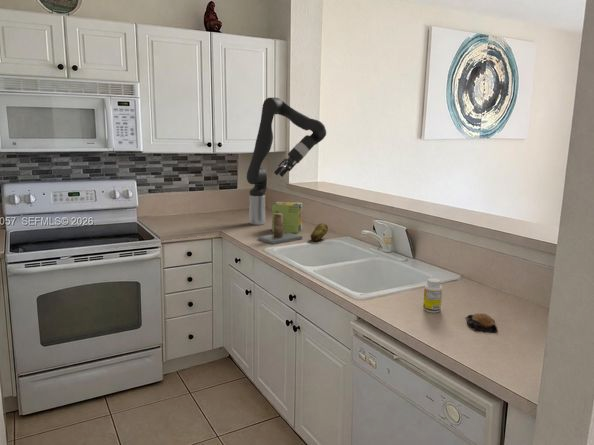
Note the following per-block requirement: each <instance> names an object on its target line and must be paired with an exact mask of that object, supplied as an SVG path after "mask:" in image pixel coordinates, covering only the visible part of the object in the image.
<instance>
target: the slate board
mask: <svg viewBox="0 0 594 445" xmlns="http://www.w3.org/2000/svg"><path fill="white" fill-rule="evenodd" d="M257 240H259V241H262V242H264V243H268V244H271V245H277V244H282V243H288V242H294V241H298V240H300V241H301V240H303V236H302V235H300V234H297V233H289V232H283V237H281V238H275V237H274V233H273V234H267V235H261V236H258V237H257Z"/></svg>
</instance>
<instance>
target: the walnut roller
mask: <svg viewBox="0 0 594 445" xmlns="http://www.w3.org/2000/svg"><path fill="white" fill-rule="evenodd" d="M273 234H274V237H275V238H281V237H283V214H282V213H275V214H274V232H273Z"/></svg>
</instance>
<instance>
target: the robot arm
mask: <svg viewBox="0 0 594 445" xmlns="http://www.w3.org/2000/svg"><path fill="white" fill-rule="evenodd" d="M275 115H279V116H282V117H284V118H287V119H288V120H289V121H290V122H291V123H292V124H293V125H294V126H296V127H298V128H300V129H302V130H304V131H310V132H312V133H311V134H310V135H309V134H306V135H305V136H303V138H301V140H299V142H298V143H296V144H295V145H294V146H293V147H292V148H291V149H290V151H289V152H288V153H287V156H288V158H286V157H285V158H284V159H283V160H282V161H281V162H280V163H279V164H278V165H277V166H278V167H277V169H276V170H275V171H274V174H275V175H276V176H278V175H279V176H280V177H284V176H285V175H286V174H287V173H288V172H291V171H292V170H293V168H294V167H295V166H296V165H297V164H299V163H300V162H301V161H302V160H303V159H304V158H305V157H306V155H307V154H309V152H310V151H311V150H312V149H313V147H314V146H315V145H317V144H318V143H320V142H322V141H323V140H324V139H325V137H326V136H327V130H326V126H325V124H324V123H323V122H322V121H320V120H318V119H314V118H311V117H309V116H307V115H305V114H303V113H301V112H299V111H298V110H296V109H294V108H293V107H291V106H290V105H288V104H287V103H286V102H285V101H283V100H282V99H281V98H279V97H267V98H266V99H265V100H264V101H263V103H262V108H261V117H260V123H259V127H258V132H257V136H256V139H255V144H254V149H253V151H252V152H253V153H252V156H251V160H250V162H249V167H248V169H247V172H246V180H247V183H249V185H253V187H252V188H251V189H250V190H249V207H248V223H249V224H250V225H255V226H258V225H265V224H266V192H267V184H268V174H267V170H266V169H265V168H262V167H261V166H262V163H263V161H264V160H265V159H266V157H267V156H268V154H269V153H270V151H271V149H272V145H273V140H274V132H273V127H272V126H273V120H274V116H275Z"/></svg>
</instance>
